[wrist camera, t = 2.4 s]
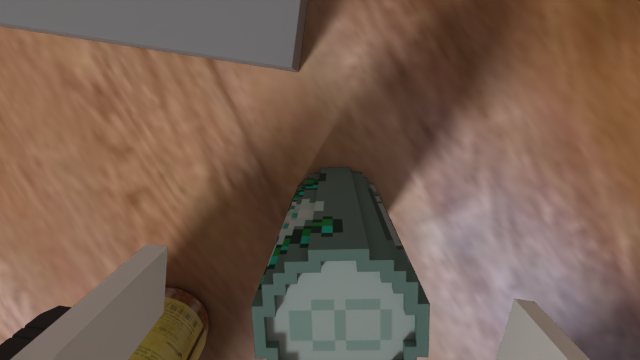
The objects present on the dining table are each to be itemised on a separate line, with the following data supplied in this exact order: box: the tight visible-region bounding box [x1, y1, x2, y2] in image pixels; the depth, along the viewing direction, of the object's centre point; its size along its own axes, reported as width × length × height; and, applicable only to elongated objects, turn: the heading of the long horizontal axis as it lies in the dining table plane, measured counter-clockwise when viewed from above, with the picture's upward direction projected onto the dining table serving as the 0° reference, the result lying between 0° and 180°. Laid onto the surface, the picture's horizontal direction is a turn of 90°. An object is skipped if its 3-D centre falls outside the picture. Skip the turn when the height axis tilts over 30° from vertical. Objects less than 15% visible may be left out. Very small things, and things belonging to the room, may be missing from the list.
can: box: [251, 167, 430, 360], centre depth 21 cm, size 6×6×15 cm
